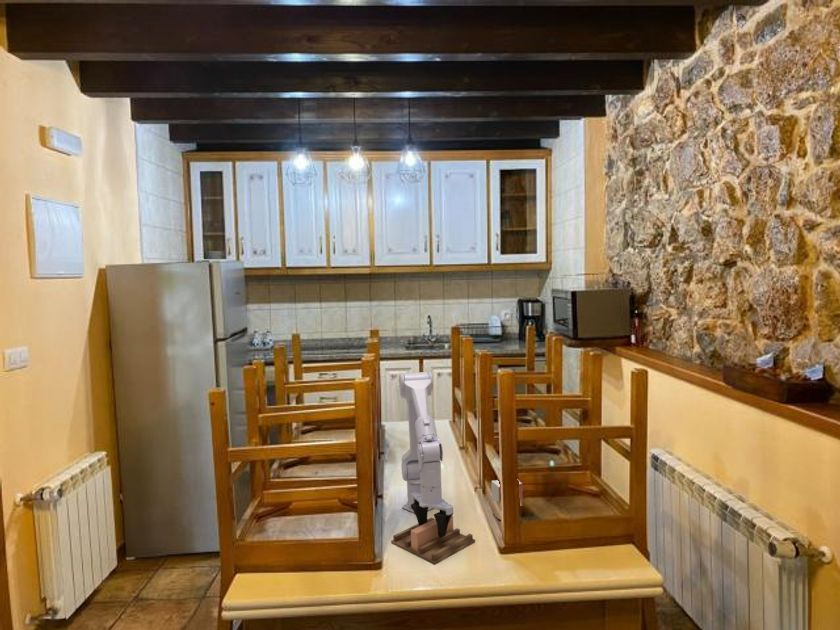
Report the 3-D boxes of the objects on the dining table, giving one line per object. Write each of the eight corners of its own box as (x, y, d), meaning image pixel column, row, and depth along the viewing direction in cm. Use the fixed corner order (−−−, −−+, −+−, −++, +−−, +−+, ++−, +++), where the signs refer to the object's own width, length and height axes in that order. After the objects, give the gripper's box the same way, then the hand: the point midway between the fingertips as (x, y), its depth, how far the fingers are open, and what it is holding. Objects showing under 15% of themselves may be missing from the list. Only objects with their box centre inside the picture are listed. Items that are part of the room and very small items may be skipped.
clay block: (447, 530, 162) (446, 513, 162) (453, 532, 161) (452, 515, 160) (411, 548, 153) (410, 530, 152) (417, 551, 151) (417, 533, 150)
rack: (431, 523, 168) (431, 516, 168) (475, 541, 156) (475, 534, 156) (391, 542, 157) (390, 535, 157) (434, 564, 145) (434, 556, 145)
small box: (498, 521, 168) (498, 487, 167) (491, 513, 173) (490, 480, 172) (523, 517, 170) (522, 483, 169) (515, 509, 175) (514, 476, 174)
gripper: (402, 481, 158) (404, 528, 159) (439, 495, 147) (441, 546, 148) (420, 474, 163) (422, 520, 164) (458, 487, 152) (459, 536, 153)
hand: (432, 531), depth 156 cm, fingers open, 7 cm apart
